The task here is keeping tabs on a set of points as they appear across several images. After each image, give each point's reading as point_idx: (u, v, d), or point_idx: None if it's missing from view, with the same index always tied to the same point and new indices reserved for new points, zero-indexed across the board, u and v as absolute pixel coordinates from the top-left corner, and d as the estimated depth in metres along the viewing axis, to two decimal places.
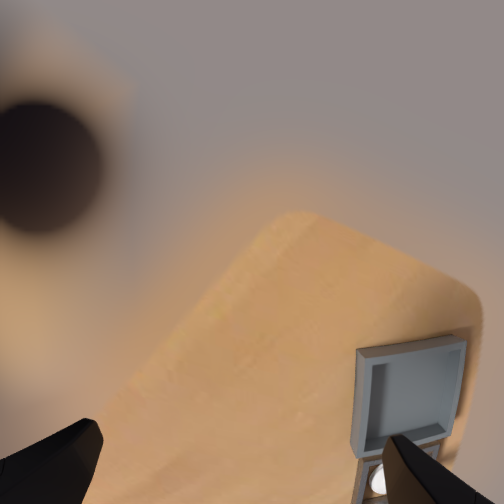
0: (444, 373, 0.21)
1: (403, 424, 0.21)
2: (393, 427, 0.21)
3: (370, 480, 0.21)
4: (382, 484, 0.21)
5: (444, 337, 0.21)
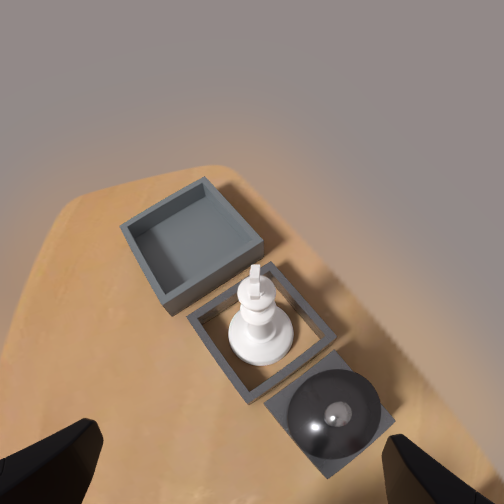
0: (218, 214, 0.28)
1: None
2: None
3: (234, 351, 0.22)
4: (246, 342, 0.21)
5: None
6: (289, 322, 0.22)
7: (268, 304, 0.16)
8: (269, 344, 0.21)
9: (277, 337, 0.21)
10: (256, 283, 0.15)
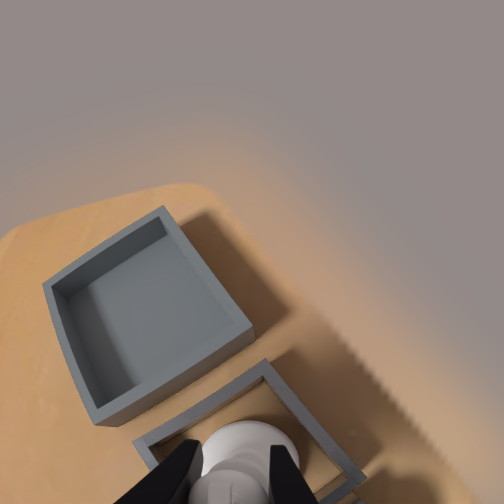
0: (185, 266, 0.18)
1: (168, 361, 0.15)
2: (154, 372, 0.14)
3: None
4: None
5: None
6: (293, 455, 0.12)
7: None
8: None
9: None
10: None
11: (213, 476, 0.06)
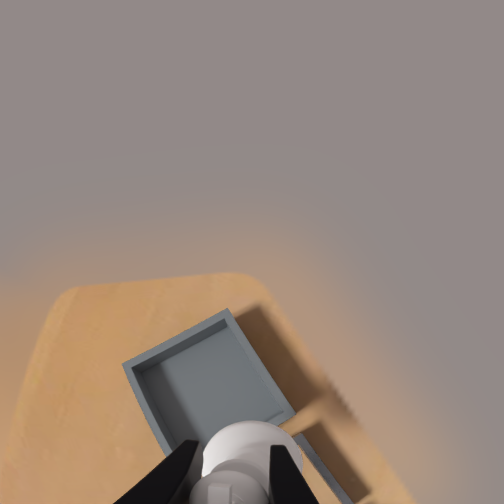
0: (243, 356, 0.22)
1: None
2: None
3: None
4: None
5: None
6: (296, 455, 0.12)
7: None
8: None
9: None
10: None
11: (214, 477, 0.06)
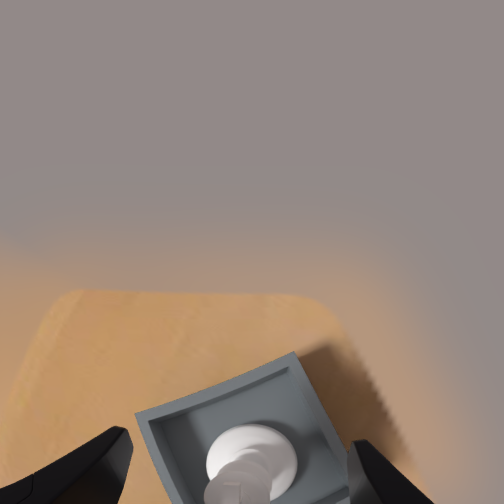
0: (304, 414, 0.15)
1: None
2: None
3: None
4: None
5: None
6: (292, 455, 0.13)
7: None
8: None
9: (274, 477, 0.12)
10: None
11: (224, 476, 0.07)
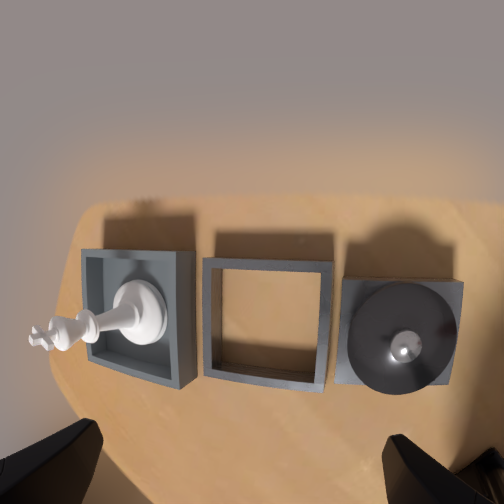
0: (126, 259, 0.22)
1: None
2: None
3: None
4: (136, 332, 0.21)
5: None
6: (136, 284, 0.21)
7: (66, 333, 0.14)
8: (145, 315, 0.20)
9: (142, 304, 0.20)
10: (41, 340, 0.13)
11: None
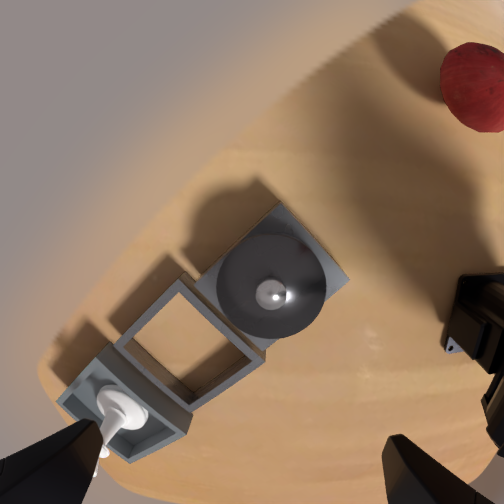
0: (84, 382, 0.23)
1: None
2: None
3: (144, 423, 0.23)
4: (131, 421, 0.22)
5: None
6: (101, 393, 0.22)
7: None
8: (123, 407, 0.21)
9: (115, 402, 0.21)
10: None
11: None
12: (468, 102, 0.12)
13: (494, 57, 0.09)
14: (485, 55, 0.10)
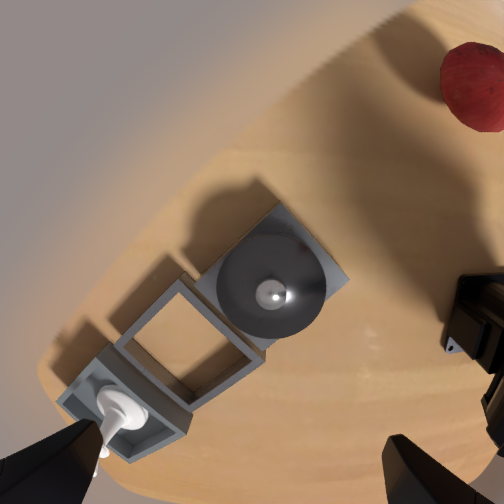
0: (84, 382, 0.23)
1: None
2: None
3: (144, 423, 0.23)
4: (131, 422, 0.22)
5: None
6: (101, 393, 0.22)
7: None
8: (123, 407, 0.21)
9: (115, 403, 0.21)
10: None
11: None
12: (468, 101, 0.12)
13: (494, 56, 0.09)
14: (485, 55, 0.10)
